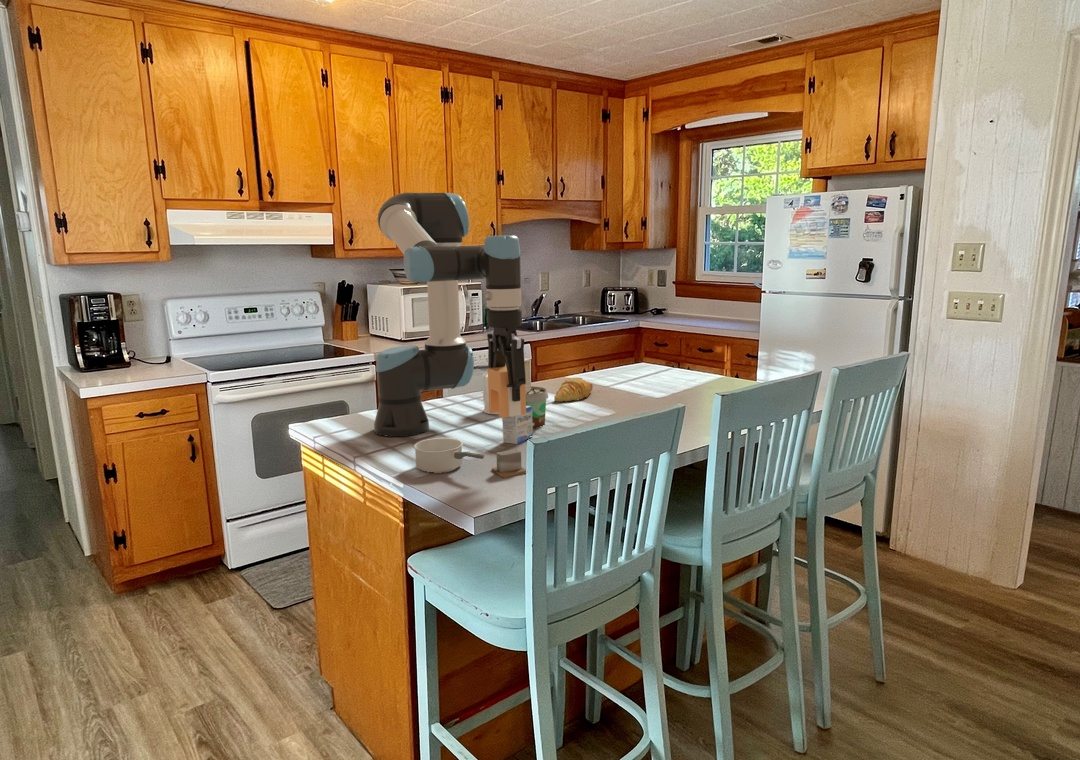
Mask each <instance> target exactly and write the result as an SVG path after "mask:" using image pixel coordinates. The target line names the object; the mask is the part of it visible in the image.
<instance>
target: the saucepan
mask: <svg viewBox="0 0 1080 760" xmlns="http://www.w3.org/2000/svg"><path fill="white" fill-rule="evenodd" d="M463 445H464V442H463V441H462V440H460V439H458V438H451V437H437V438H436V437H434V438H428V439H423V440H420V441H417V442H415V443H414V444H413V446H412V447H413V449H414V451H415V452H414V453H415V466H416V468H417V469H419V470H421V471H423V470H424V471H423V472H425V471H427V472H426V473H429V472H434V473H433V474H442V472H444V473H449V472H451V471H454V470H456V469H457V468H458V467H460V466H462V465H463V458H466V457H468V458H475V459H480V460H483V459H484V458H485V455H484V454H481V453H475V452H470V451H463V447H462V446H463Z"/></svg>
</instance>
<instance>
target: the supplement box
mask: <svg viewBox="0 0 1080 760" xmlns="http://www.w3.org/2000/svg"><path fill="white" fill-rule="evenodd" d="M524 362H525V377H526V384H525V391H526V393H527V392H529V391H530V390H531V386H532V380H531V377H532V376H531V359H529V358H524ZM505 366H506V363H505Z"/></svg>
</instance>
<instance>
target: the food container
mask: <svg viewBox="0 0 1080 760" xmlns="http://www.w3.org/2000/svg"><path fill="white" fill-rule="evenodd" d="M547 399H549V392H548V390H547V389H546V388H545V387H541V386H532V385H531V390H530V391H529V392H527V393H526V406H531V407H532V424H533V429H536V428H535V427H539V428H541V427H540V426H542V427H543V425H544V426H545V425H546V409H547V408H546V407H547Z"/></svg>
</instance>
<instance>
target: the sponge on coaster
mask: <svg viewBox="0 0 1080 760" xmlns="http://www.w3.org/2000/svg"><path fill="white" fill-rule="evenodd" d="M495 457H496V466H495V467H491V471H492V472H493V473H494V474H496V475H497V476H499V477H501V478H503V479H504V478H511V477H514V476H519V475H525V474H526V473H525V472H526V470H527V469H526V468H523V467H522V451H521V450H519V449H516V448H515V449H510V450H509V449H508V450H504V451H498V452H496V455H495Z"/></svg>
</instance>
